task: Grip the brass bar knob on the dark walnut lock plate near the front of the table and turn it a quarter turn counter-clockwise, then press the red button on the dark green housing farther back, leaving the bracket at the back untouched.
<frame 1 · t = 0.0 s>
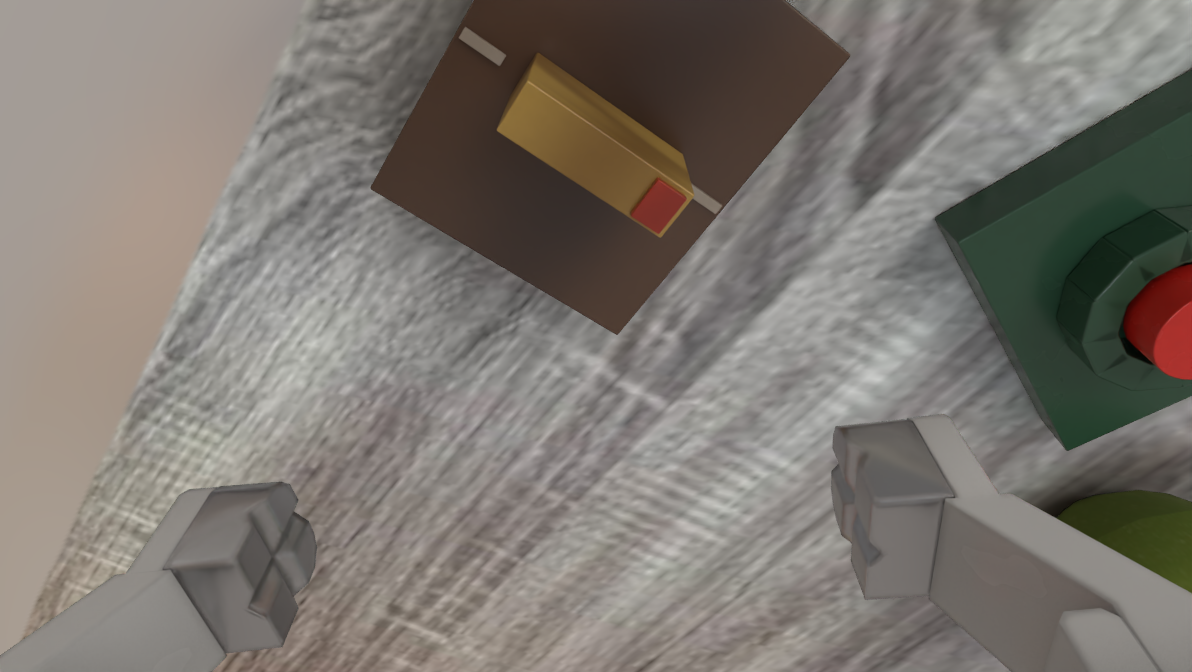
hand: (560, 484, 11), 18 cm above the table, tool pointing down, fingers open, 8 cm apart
lock knob: (598, 145, 21), point 5 cm above the table, hinge at 0.0°
lock plate: (598, 100, 26), on the table
button box: (1117, 262, 29), on the table
apple: (1093, 519, 37), on the table
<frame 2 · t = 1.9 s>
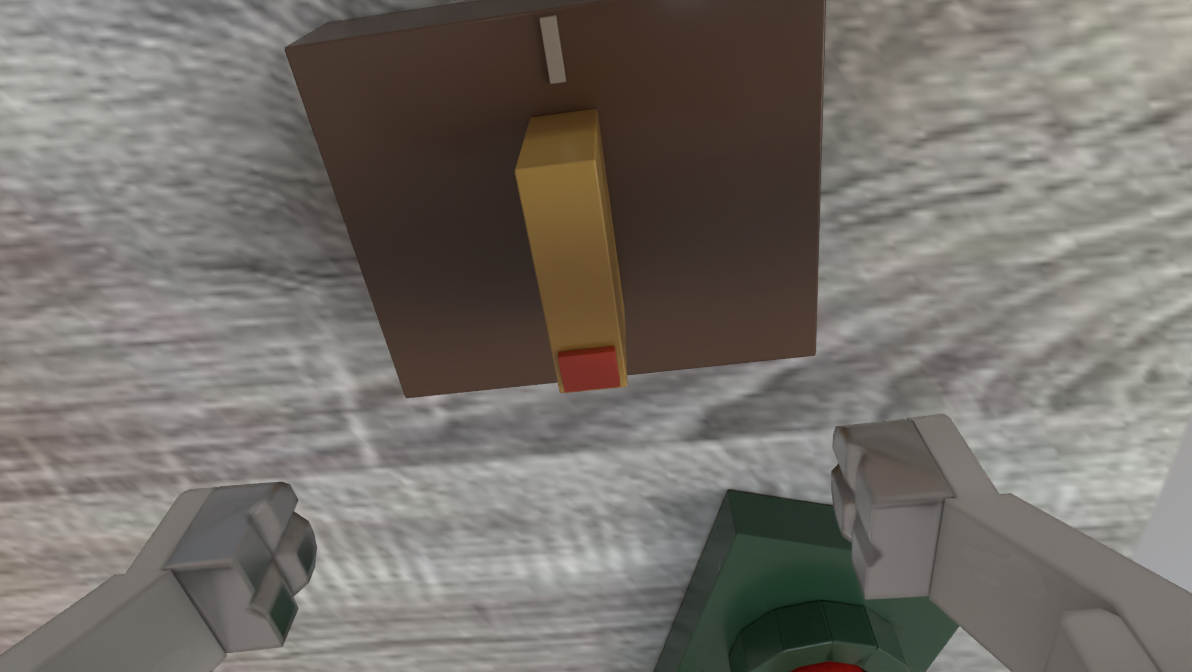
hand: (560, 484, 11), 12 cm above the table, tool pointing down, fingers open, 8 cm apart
lock knob: (578, 254, 17), point 5 cm above the table, hinge at 0.0°
lock plate: (583, 177, 21), on the table
button box: (800, 606, 32), on the table
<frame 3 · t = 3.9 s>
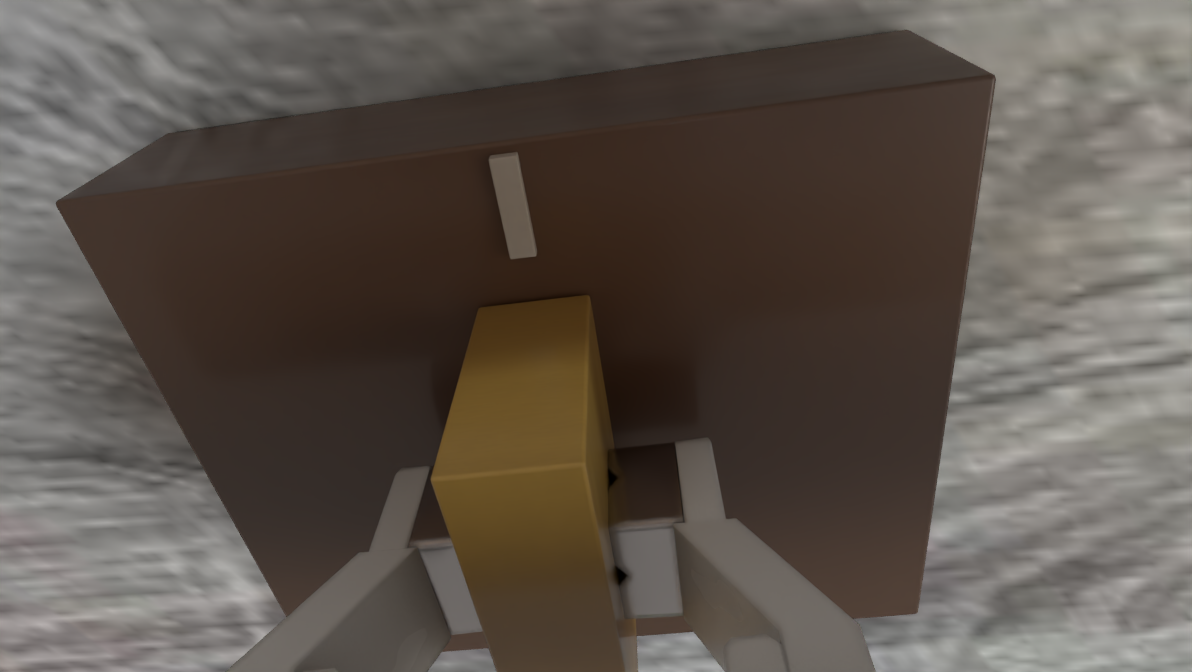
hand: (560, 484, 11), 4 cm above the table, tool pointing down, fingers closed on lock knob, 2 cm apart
lock knob: (558, 538, 10), point 5 cm above the table, hinge at 0.0°, touching gripper
lock plate: (571, 344, 14), on the table
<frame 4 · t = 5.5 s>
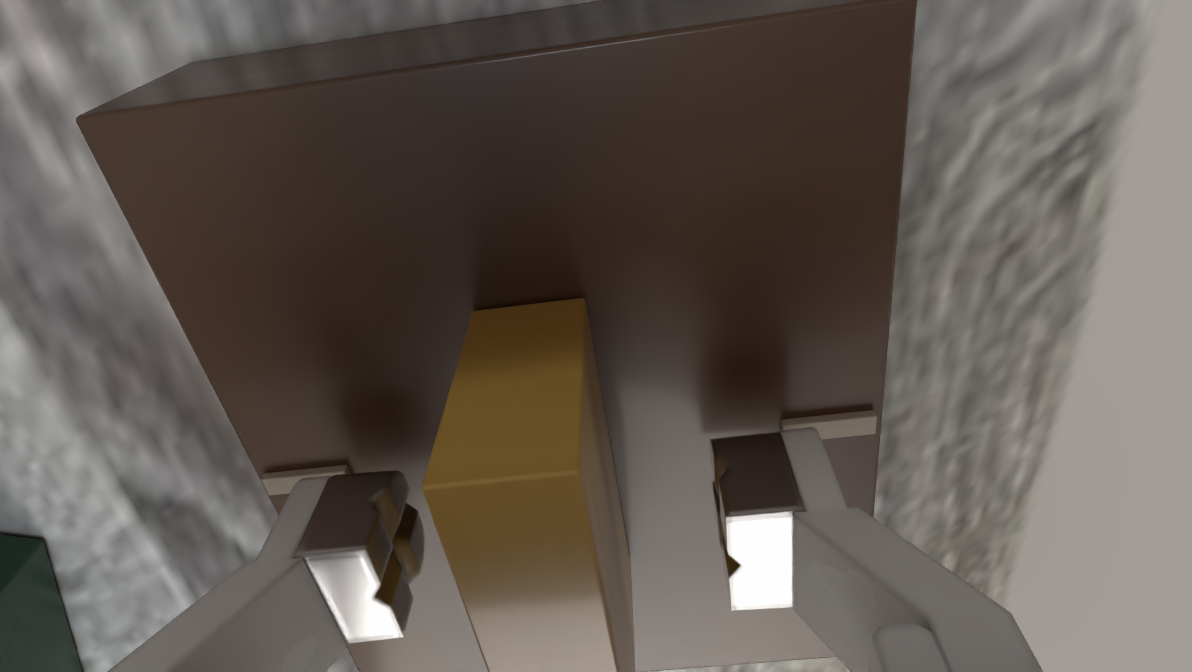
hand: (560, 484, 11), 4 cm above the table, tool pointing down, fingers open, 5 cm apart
lock knob: (554, 544, 10), point 5 cm above the table, hinge at 90.1°
lock plate: (568, 347, 14), on the table
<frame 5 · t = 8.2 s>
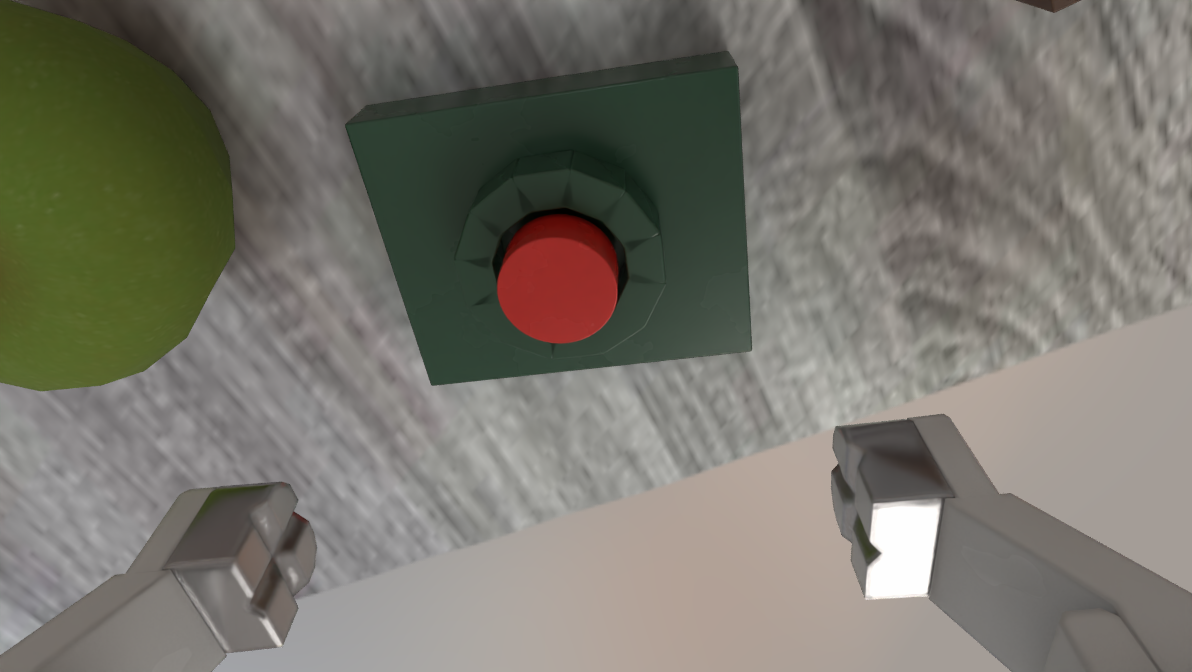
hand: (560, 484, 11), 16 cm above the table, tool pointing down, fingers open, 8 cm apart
button box: (568, 220, 26), on the table
button: (559, 279, 23), point 4 cm above the table, slide at 0.1 cm
apple: (145, 137, 26), on the table
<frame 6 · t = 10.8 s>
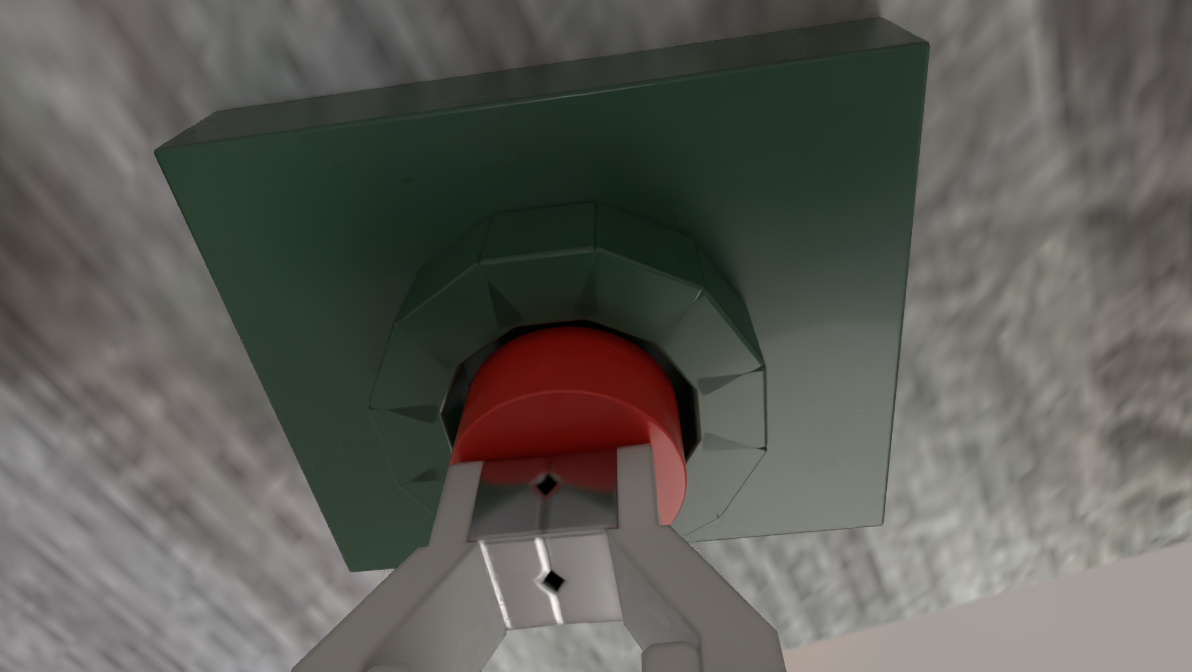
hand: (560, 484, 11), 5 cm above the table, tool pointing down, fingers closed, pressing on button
button box: (578, 308, 16), on the table
button: (569, 448, 12), point 4 cm above the table, slide at 0.1 cm, touching gripper
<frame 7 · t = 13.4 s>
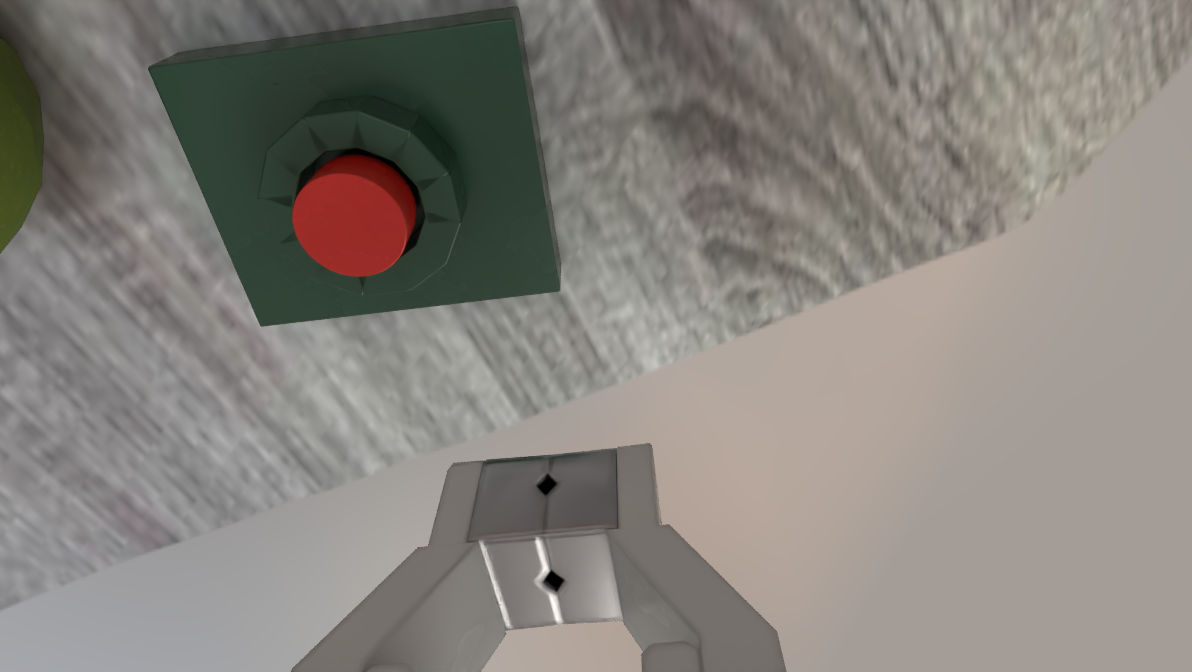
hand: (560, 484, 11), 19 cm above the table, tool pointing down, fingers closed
button box: (385, 168, 28), on the table
button: (356, 216, 24), point 4 cm above the table, slide at 0.1 cm
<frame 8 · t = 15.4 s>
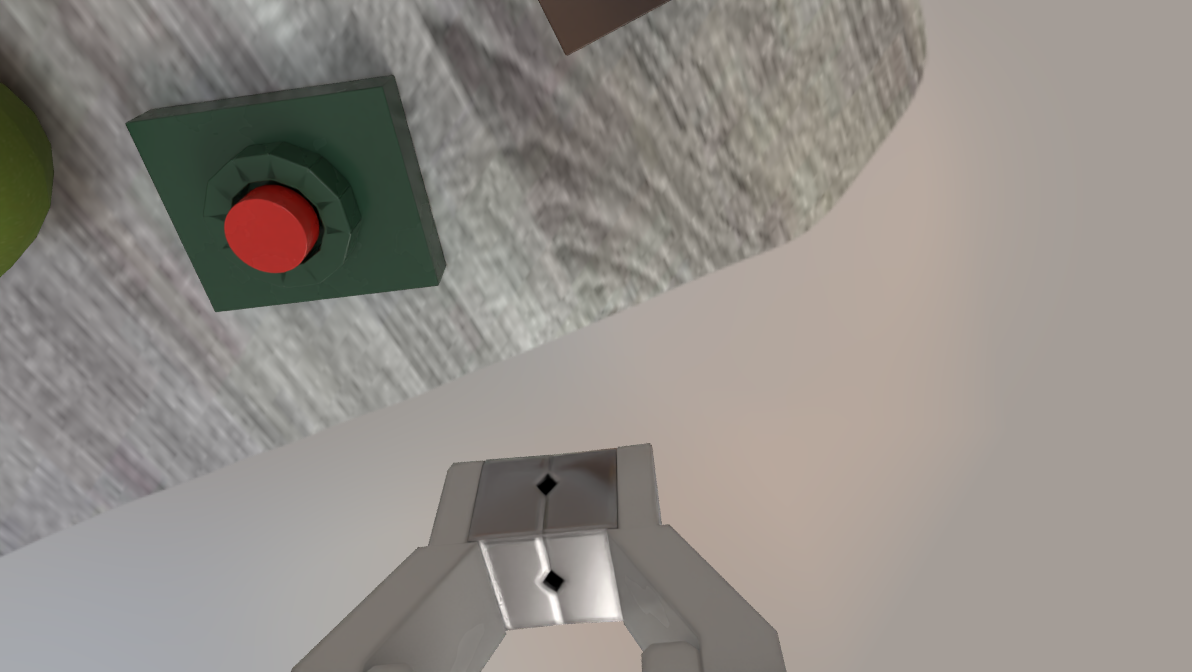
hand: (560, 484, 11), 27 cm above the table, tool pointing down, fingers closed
button box: (306, 192, 37), on the table
button: (273, 229, 34), point 4 cm above the table, slide at 0.1 cm
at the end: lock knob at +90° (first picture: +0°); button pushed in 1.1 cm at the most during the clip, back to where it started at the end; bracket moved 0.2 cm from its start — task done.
